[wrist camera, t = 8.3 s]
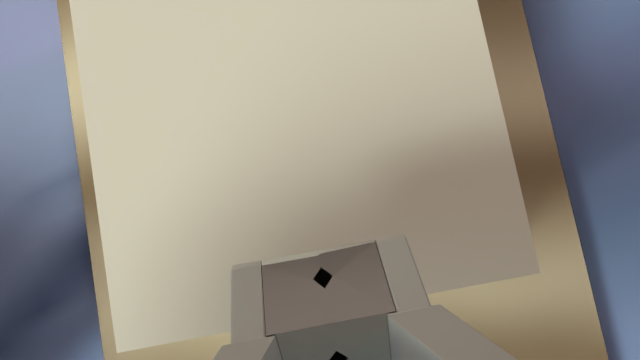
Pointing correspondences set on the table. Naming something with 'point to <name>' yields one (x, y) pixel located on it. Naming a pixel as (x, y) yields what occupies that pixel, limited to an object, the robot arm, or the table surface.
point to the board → (466, 303)
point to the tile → (289, 146)
